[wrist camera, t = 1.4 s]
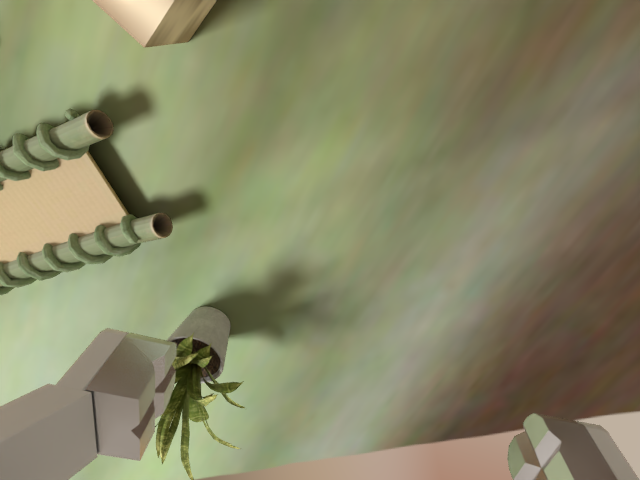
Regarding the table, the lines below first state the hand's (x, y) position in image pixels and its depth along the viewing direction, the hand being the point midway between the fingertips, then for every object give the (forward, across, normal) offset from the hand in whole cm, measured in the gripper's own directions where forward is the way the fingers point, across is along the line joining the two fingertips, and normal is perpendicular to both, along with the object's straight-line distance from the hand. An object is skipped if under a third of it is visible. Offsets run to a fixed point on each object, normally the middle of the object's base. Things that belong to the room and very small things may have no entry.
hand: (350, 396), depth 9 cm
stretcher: (+32, +35, +19) cm, 51 cm away
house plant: (+32, +10, +28) cm, 43 cm away
